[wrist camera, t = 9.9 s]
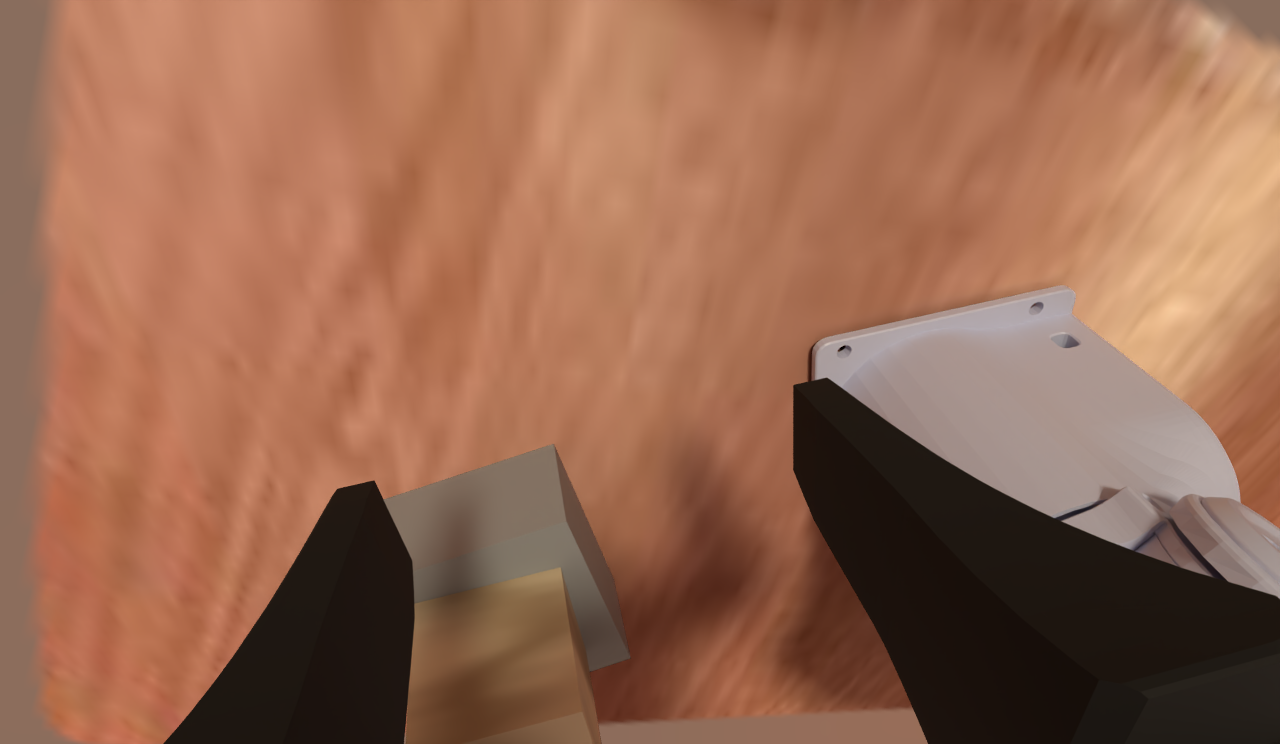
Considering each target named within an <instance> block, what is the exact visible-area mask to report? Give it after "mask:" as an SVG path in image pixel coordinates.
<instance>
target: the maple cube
mask: <svg viewBox="0 0 1280 744" xmlns="http://www.w3.org/2000/svg"><path fill="white" fill-rule="evenodd" d="M414 607H415V622H414V635H413V647H412V658H411V670H410V681H409V692H408V708H407V728H406V744H601V738H600V732H599V726H598V720H597V714H596V708H595V701H594V695H593V689H592V683H591V677H590V671H589V665H588V659H587V653H586V649H585V646H584V642H583V639H582V636H581V632H580V629H579V626H578V623H577V619H576V616H575V613H574V609H573V606H572V603H571V599H570V596H569V593H568V590H567V586H566V583H565V580H564V576H563V573H562V570H561V567H559V568H555V569H551V570H547V571H543V572H539V573H535V574H531V575H527V576H523V577H519V578H515V579H511V580H507V581H503V582H499V583H495V584H491V585H487V586H483V587H479V588H475V589H471V590H467V591H463V592H459V593H455V594H451V595H447V596H443V597H439V598H435V599H431V600H427V601H423V602H419V603H415V604H414Z"/></svg>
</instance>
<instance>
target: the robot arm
mask: <svg viewBox="0 0 1280 744" xmlns="http://www.w3.org/2000/svg"><path fill="white" fill-rule="evenodd" d="M1075 299H1076V294H1075V292H1074V291H1073V290H1072V289H1070V288H1069V287H1068V286H1065V285H1059V286H1055V287H1050V288H1046V289H1041V290H1037V291H1032V292H1028V293H1023V294H1019V295H1014V296H1010V297H1005V298H1001V299H996V300H992V301H987V302H983V303H978V304H974V305H969V306H965V307H960V308H956V309H951V310H947V311H942V312H938V313H933V314H929V315H924V316H920V317H915V318H911V319H906V320H902V321H897V322H893V323H888V324H884V325H879V326H875V327H870V328H866V329H861V330H857V331H853V332H848V333H844V334H839V335H835V336H830V337H826V338H823V339H821V340H820V341H818V342H817V343H816V344H815V346H814V347H813V351H812V381H809V382H805V383H800V384H796V385H793V470H794V473H795V475H796V478H797V480H798V483H799V485H800V488H801V490H802V493H803V495H804V498H805V500H806V502H807V505H808V507H809V509H810V512H811V514H812V516H813V519H814V521H815V523H816V524H817V526H818V528H819V530H820V532H821V533H822V535H823V537H824V539H825V540H826V542H827V544H828V546H829V547H830V549H831V551H832V553H833V554H834V556H835V558H836V560H837V561H838V563H839V565H840V567H841V568H842V570H843V572H844V574H845V575H846V577H847V579H848V581H849V582H850V584H851V586H852V588H853V589H854V591H855V593H856V594H857V596H858V598H859V600H860V601H861V603H862V605H863V607H864V608H865V610H866V612H867V614H868V615H869V617H870V619H871V621H872V622H873V624H874V626H875V628H876V630H877V632H878V633H879V635H880V637H881V639H882V641H883V643H884V645H885V647H886V649H887V651H888V653H889V655H890V658H891V660H892V662H893V664H894V667H895V669H896V671H897V673H898V675H899V678H900V680H901V682H902V684H903V687H904V689H905V691H906V693H907V696H908V698H909V700H910V702H911V705H912V707H913V709H914V712H915V714H916V716H917V718H918V721H919V723H920V726H921V728H922V730H923V732H924V735H925V737H926V740H927V742H928V744H1280V529H1279V528H1278V527H1276V526H1275V525H1274V524H1272V523H1271V522H1269V521H1268V520H1266V519H1265V518H1264V517H1262V516H1261V515H1259V514H1258V513H1256V512H1254V511H1253V510H1251V509H1250V508H1248V507H1246V506H1245V505H1243V504H1241V503H1240V491H1239V485H1238V481H1237V477H1236V474H1235V471H1234V469H1233V466H1232V464H1231V461H1230V459H1229V457H1228V456H1227V454H1226V452H1225V450H1224V448H1223V446H1222V445H1221V443H1220V441H1219V439H1218V438H1217V437H1216V435H1215V434H1214V432H1213V431H1212V430H1211V428H1210V427H1209V426H1208V424H1207V423H1206V422H1205V421H1204V420H1203V419H1202V418H1201V417H1200V415H1199V414H1198V413H1196V412H1195V411H1194V410H1193V409H1192V408H1191V407H1190V406H1189V405H1187V404H1186V403H1185V402H1184V401H1182V400H1181V399H1180V398H1179V397H1177V396H1176V395H1175V394H1173V393H1172V392H1171V391H1170V390H1168V389H1167V388H1166V387H1164V386H1163V385H1162V384H1161V383H1159V382H1158V381H1157V380H1156V379H1154V378H1153V377H1152V376H1150V375H1149V374H1148V373H1147V372H1145V371H1144V370H1143V369H1141V368H1140V367H1139V366H1138V365H1136V364H1135V363H1134V362H1133V361H1131V360H1130V359H1129V358H1127V357H1126V356H1125V355H1124V354H1122V353H1121V352H1120V351H1119V350H1117V349H1116V348H1115V347H1113V346H1112V345H1111V344H1110V343H1108V342H1107V341H1106V340H1104V339H1103V338H1102V337H1101V336H1099V335H1098V334H1097V333H1096V332H1094V331H1093V330H1092V329H1090V328H1089V327H1088V326H1087V325H1085V324H1084V323H1083V322H1081V321H1080V320H1079V319H1078V318H1076V317H1075V316H1074V315H1073V314H1072V310H1073V306H1074V303H1075ZM1033 304H1035V305H1034V306H1033V307H1032V308H1031V306H1032V305H1033ZM844 345H846V347H845V348H844V349H843V350H842V351H840V352H837V351H838V349H839V348H840V347H842V346H844ZM414 622H415V607H414V581H413V562H412V559H411V557H410V554H409V552H408V550H407V548H406V546H405V544H404V542H403V540H402V538H401V536H400V533H399V531H398V529H397V527H396V525H395V523H394V521H393V519H392V517H391V514H390V512H389V510H388V508H387V506H386V504H385V502H384V500H383V498H382V496H381V493H380V491H379V489H378V487H377V485H376V483H375V481H370V482H365V483H361V484H357V485H352V486H348V487H343V488H339V489H337V490H336V491H335V493H334V494H333V496H332V497H331V499H330V501H329V503H328V504H327V506H326V508H325V509H324V511H323V513H322V515H321V516H320V518H319V520H318V522H317V524H316V525H315V527H314V529H313V531H312V532H311V534H310V536H309V538H308V539H307V541H306V543H305V544H304V546H303V548H302V550H301V551H300V553H299V555H298V556H297V558H296V560H295V562H294V563H293V565H292V567H291V568H290V570H289V571H288V573H287V575H286V576H285V578H284V580H283V581H282V583H281V584H280V586H279V588H278V589H277V591H276V593H275V594H274V596H273V598H272V599H271V601H270V602H269V604H268V605H267V607H266V609H265V610H264V612H263V613H262V615H261V616H260V618H259V619H258V620H257V622H256V623H255V625H254V626H253V628H252V629H251V631H250V632H249V634H248V635H247V637H246V638H245V640H244V641H243V643H242V644H241V646H240V647H239V649H238V650H237V651H236V653H235V654H234V656H233V657H232V659H231V660H230V661H229V663H228V664H227V665H226V667H225V668H224V669H223V671H222V672H221V674H220V675H219V676H218V678H217V679H216V680H215V682H214V683H213V684H212V686H211V687H210V688H209V689H208V691H207V692H206V693H205V695H204V696H203V697H202V698H201V700H200V701H199V702H198V703H197V705H196V706H195V707H194V708H193V710H192V711H191V712H190V713H189V715H188V716H187V717H186V718H185V719H184V721H183V722H182V723H181V724H180V725H179V727H178V728H177V729H176V730H175V731H174V732H173V733H172V735H171V736H170V737H169V738H168V739H167V740H166V741H165V742H164V744H404V736H405V725H406V714H407V703H408V692H409V681H410V670H411V658H412V647H413V635H414Z"/></svg>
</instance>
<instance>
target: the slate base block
mask: <svg viewBox="0 0 1280 744" xmlns="http://www.w3.org/2000/svg"><path fill="white" fill-rule="evenodd" d="M384 502H385V504H386V506H387V508H388V510H389V512H390V514H391V517H392V519H393V521H394V523H395V525H396V527H397V529H398V531H399V533H400V536H401V538H402V540H403V542H404V544H405V546H406V548H407V550H408V552H409V554H410V557H411V559H412V562H413V581H414V604H415V603H419V602H423V601H427V600H431V599H435V598H439V597H443V596H447V595H451V594H455V593H459V592H463V591H467V590H471V589H475V588H479V587H483V586H487V585H491V584H495V583H499V582H503V581H507V580H511V579H515V578H519V577H523V576H527V575H531V574H535V573H539V572H543V571H547V570H551V569H555V568H559V567H561V570H562V573H563V576H564V580H565V583H566V586H567V590H568V593H569V596H570V599H571V603H572V606H573V609H574V613H575V616H576V619H577V623H578V626H579V629H580V632H581V636H582V639H583V642H584V646H585V649H586V653H587V659H588V665H589V671H590V672H591V671H594V670H597V669H600V668H603V667H606V666H609V665H612V664H615V663H618V662H621V661H624V660H627V659H630V658H631V657H630V652H629V648H628V643H627V638H626V634H625V629H624V624H623V620H622V615H621V610H620V605H619V601H618V596H617V591H616V587H615V582H614V579H613V576H612V574H611V572H610V570H609V567H608V565H607V563H606V561H605V558H604V556H603V554H602V552H601V549H600V547H599V545H598V543H597V540H596V538H595V536H594V534H593V531H592V529H591V527H590V525H589V522H588V520H587V518H586V516H585V513H584V511H583V509H582V507H581V504H580V502H579V500H578V498H577V495H576V493H575V491H574V488H573V486H572V484H571V482H570V479H569V477H568V475H567V473H566V470H565V468H564V466H563V464H562V461H561V459H560V457H559V455H558V452H557V450H556V448H555V446H554V444H552V445H549V446H546V447H543V448H539V449H536V450H533V451H530V452H527V453H524V454H521V455H518V456H515V457H512V458H509V459H506V460H503V461H500V462H497V463H494V464H491V465H488V466H485V467H482V468H478V469H475V470H472V471H469V472H466V473H463V474H460V475H457V476H454V477H451V478H448V479H445V480H442V481H439V482H436V483H433V484H430V485H427V486H424V487H421V488H418V489H414V490H411V491H408V492H405V493H402V494H399V495H396V496H393V497H390V498H387V499H384ZM407 705H408V703H407Z"/></svg>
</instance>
